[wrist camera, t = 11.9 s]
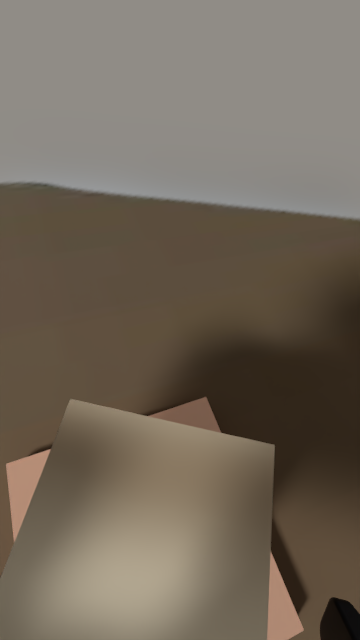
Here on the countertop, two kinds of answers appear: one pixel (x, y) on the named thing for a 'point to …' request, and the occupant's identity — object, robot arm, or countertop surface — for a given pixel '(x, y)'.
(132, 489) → the birch block
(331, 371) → the countertop surface
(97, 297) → the countertop surface
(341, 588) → the countertop surface
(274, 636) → the terracotta tile
